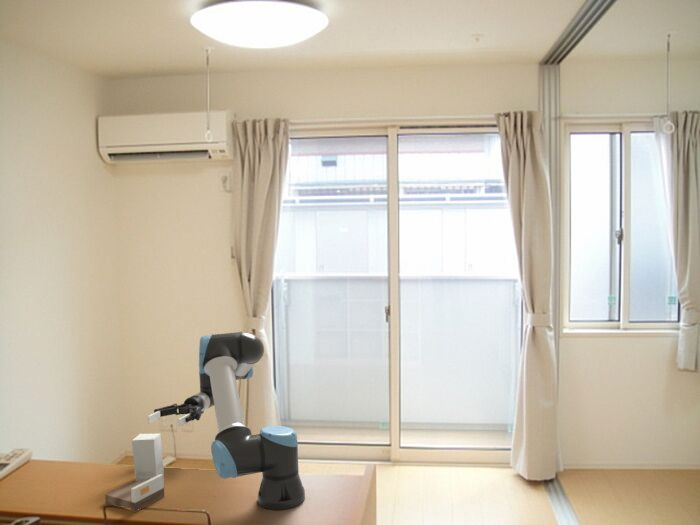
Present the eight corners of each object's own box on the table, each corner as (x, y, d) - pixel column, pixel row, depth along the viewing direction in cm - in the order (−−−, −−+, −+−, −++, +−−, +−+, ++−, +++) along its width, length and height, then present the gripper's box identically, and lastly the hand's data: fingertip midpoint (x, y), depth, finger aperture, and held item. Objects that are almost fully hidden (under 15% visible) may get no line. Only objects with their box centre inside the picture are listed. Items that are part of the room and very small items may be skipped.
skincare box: (164, 475, 212) (162, 432, 211) (156, 482, 206) (154, 439, 205) (142, 474, 213) (139, 432, 212) (133, 482, 207) (131, 439, 206)
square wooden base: (165, 496, 194) (163, 474, 194) (136, 512, 184) (134, 489, 184) (135, 488, 201) (134, 467, 201) (105, 503, 191) (104, 481, 191)
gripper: (223, 415, 234) (192, 434, 214) (171, 411, 242) (136, 428, 222) (222, 397, 234) (191, 414, 214) (170, 393, 242) (135, 408, 222)
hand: (163, 421), depth 218 cm, fingers open, 13 cm apart
